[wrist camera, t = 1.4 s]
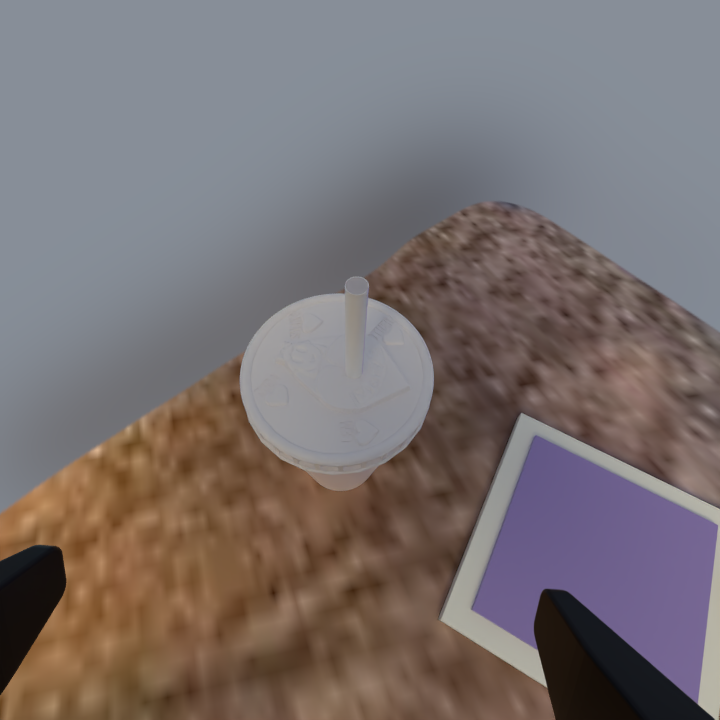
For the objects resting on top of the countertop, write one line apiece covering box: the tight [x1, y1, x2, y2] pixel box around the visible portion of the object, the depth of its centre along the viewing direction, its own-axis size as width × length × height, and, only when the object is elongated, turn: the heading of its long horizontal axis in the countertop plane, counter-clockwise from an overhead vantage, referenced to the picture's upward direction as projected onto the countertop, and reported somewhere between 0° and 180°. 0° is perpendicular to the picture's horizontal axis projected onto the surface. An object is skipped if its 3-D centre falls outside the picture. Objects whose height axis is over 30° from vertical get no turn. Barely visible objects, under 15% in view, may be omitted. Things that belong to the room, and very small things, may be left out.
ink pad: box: [438, 413, 720, 720], centre depth 19 cm, size 11×11×1 cm
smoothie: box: [240, 277, 434, 491], centre depth 16 cm, size 6×6×14 cm
